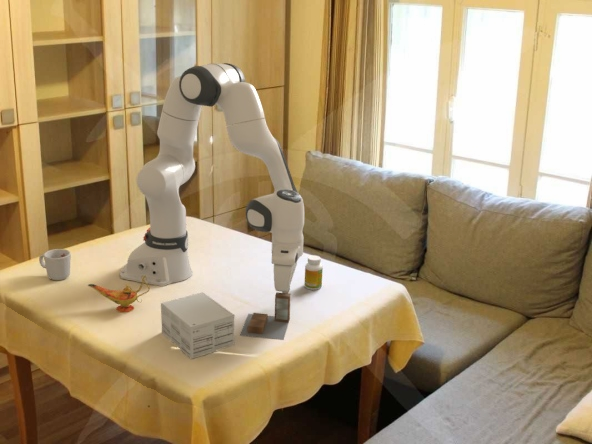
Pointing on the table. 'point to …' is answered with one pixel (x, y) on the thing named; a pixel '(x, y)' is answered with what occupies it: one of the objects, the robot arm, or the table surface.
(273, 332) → the slate rubber mat
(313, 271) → the supplement bottle
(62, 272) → the cup
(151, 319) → the table surface
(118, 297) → the magic lamp
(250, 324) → the left walnut tile
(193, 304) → the supplement box
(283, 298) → the right walnut tile
